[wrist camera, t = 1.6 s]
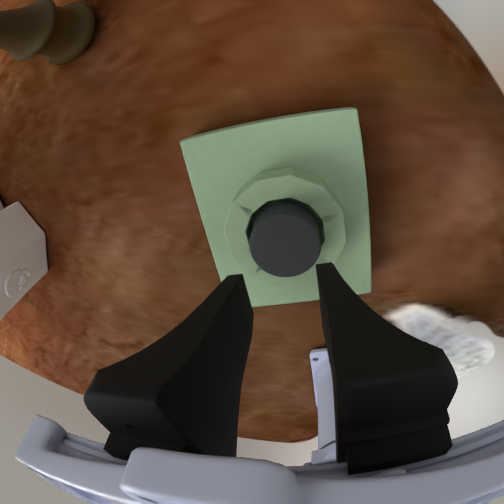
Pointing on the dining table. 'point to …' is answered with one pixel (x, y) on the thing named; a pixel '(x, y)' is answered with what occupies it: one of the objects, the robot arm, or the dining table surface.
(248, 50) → the dining table surface
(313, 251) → the push button
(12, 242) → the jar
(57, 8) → the kendama
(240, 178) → the green button box
